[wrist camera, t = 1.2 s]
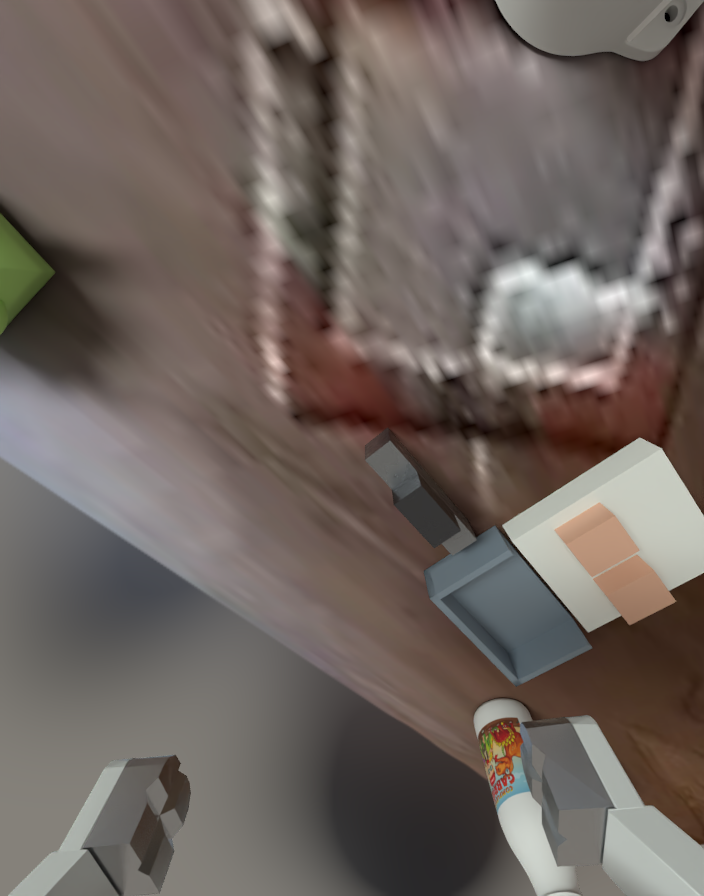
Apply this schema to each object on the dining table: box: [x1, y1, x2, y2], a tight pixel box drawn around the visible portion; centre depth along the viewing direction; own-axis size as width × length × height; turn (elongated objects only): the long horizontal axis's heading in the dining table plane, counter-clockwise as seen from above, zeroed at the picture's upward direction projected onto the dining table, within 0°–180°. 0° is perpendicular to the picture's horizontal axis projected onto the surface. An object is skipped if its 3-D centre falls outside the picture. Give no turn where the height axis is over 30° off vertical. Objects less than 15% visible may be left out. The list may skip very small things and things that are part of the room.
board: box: [502, 438, 704, 633], centre depth 41 cm, size 16×16×3 cm
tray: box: [424, 526, 592, 686], centre depth 44 cm, size 10×17×4 cm, turn 41°
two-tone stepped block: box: [365, 428, 477, 556], centre depth 38 cm, size 3×14×7 cm, turn 41°
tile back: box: [593, 555, 676, 625], centre depth 40 cm, size 5×5×2 cm
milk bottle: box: [474, 698, 582, 896], centre depth 44 cm, size 8×8×20 cm
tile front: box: [554, 502, 640, 577], centre depth 38 cm, size 5×5×2 cm
